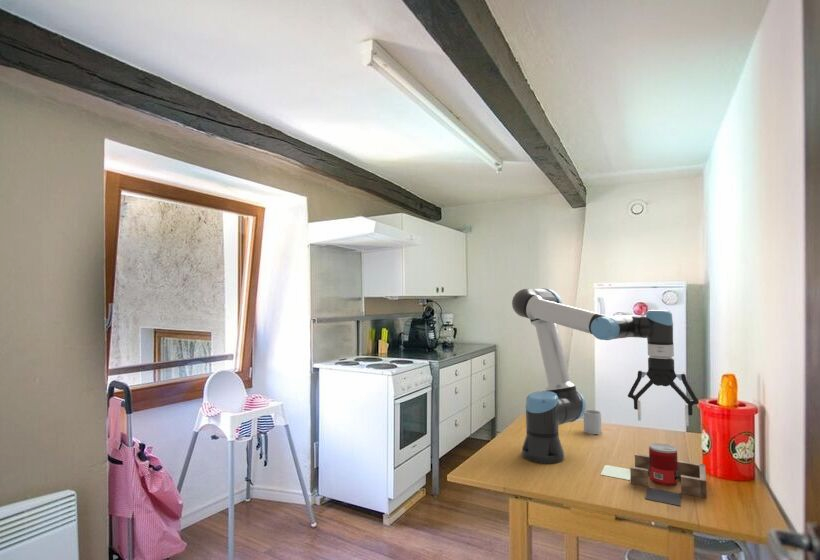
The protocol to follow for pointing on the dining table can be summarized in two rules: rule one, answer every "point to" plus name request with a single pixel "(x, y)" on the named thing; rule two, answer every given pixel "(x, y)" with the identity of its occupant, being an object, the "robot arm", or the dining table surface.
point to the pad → (616, 472)
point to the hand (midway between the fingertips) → (662, 422)
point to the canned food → (663, 464)
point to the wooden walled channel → (688, 472)
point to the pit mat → (663, 496)
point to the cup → (592, 422)
